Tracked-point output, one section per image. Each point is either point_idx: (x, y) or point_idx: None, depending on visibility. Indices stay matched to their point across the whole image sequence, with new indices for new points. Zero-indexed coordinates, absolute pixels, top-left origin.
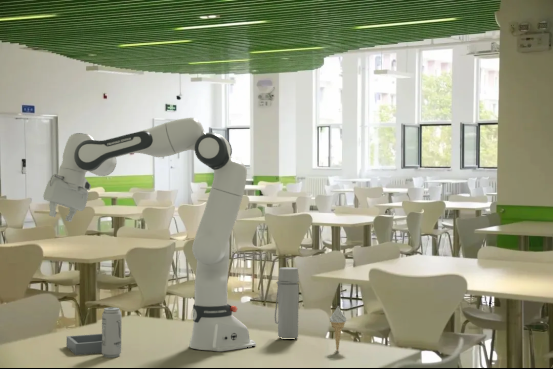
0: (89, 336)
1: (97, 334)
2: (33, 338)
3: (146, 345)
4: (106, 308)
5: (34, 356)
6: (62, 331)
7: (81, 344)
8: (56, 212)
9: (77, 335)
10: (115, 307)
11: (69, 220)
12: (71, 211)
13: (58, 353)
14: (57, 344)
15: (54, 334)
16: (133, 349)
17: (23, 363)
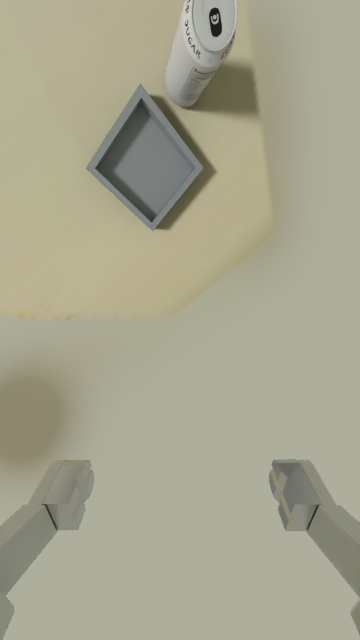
0: (123, 196)
1: (110, 183)
2: (124, 313)
3: (51, 50)
4: (214, 44)
5: (224, 229)
6: (56, 314)
7: (196, 158)
8: (298, 498)
9: (137, 216)
10: (191, 13)
11: (81, 462)
12: (3, 594)
13: (196, 207)
14: (142, 254)
15: (83, 308)
16: (107, 63)
17: (265, 213)
